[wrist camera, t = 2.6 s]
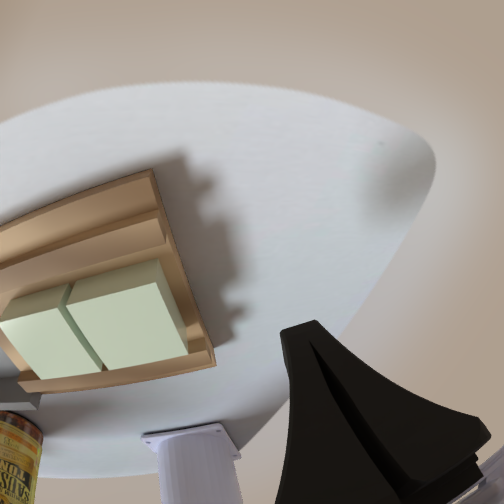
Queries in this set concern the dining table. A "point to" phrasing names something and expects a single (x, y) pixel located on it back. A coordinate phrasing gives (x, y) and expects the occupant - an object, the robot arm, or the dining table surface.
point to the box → (14, 388)
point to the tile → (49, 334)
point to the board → (98, 269)
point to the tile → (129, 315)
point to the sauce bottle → (18, 459)
